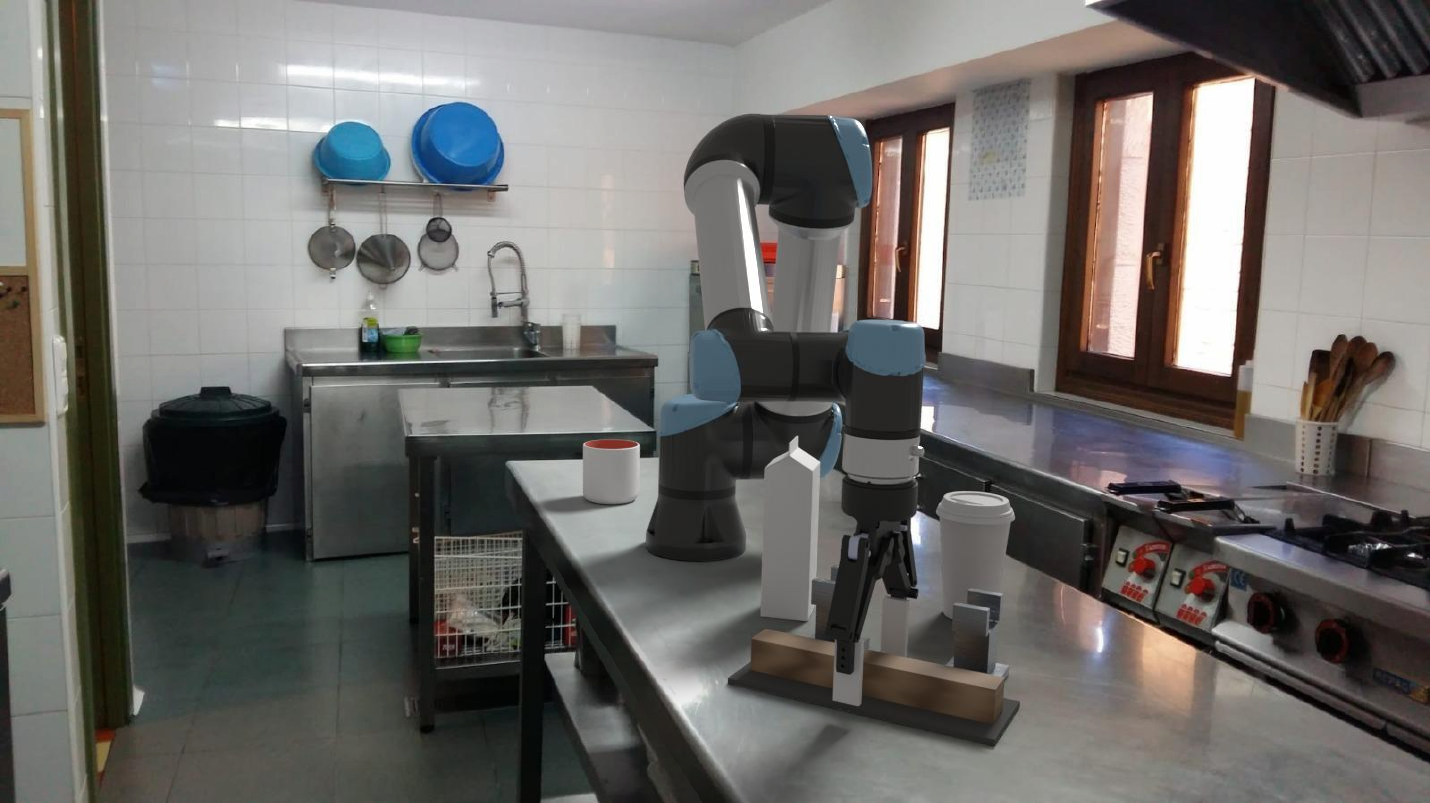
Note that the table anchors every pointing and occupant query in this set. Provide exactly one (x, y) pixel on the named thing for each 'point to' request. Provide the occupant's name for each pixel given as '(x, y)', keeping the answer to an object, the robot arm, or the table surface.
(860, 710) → the mat
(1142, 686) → the table surface
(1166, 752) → the table surface
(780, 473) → the milk
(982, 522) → the coffee cup
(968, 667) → the post
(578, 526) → the table surface
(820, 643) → the rail
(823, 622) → the post
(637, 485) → the cup
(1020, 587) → the table surface
